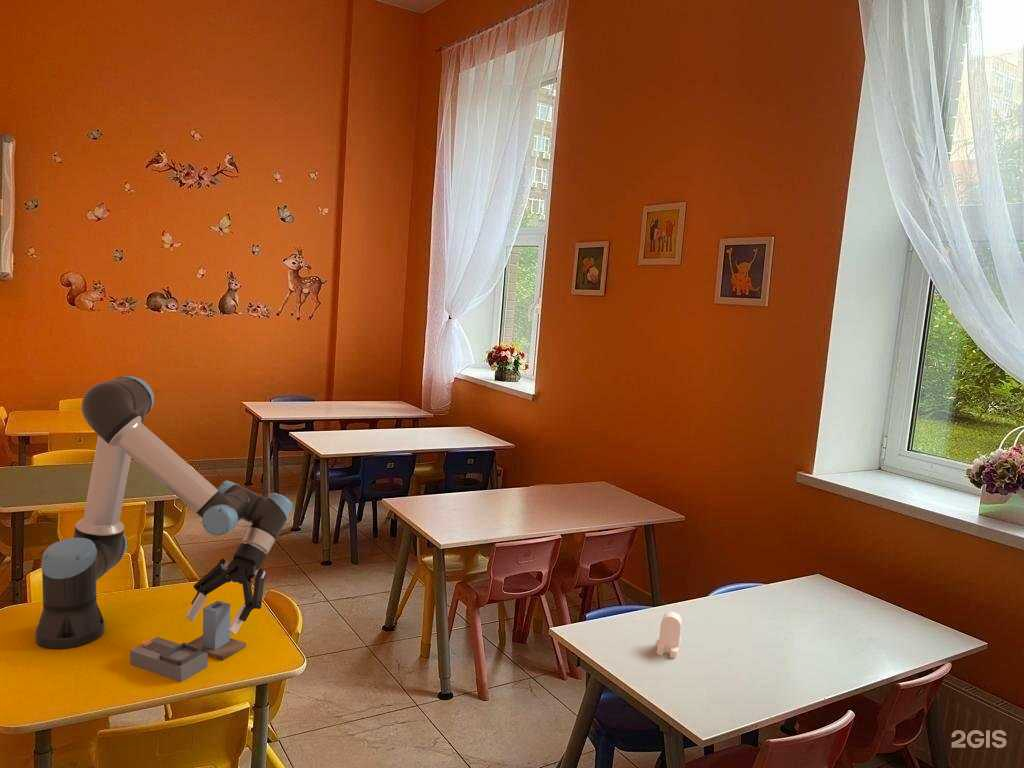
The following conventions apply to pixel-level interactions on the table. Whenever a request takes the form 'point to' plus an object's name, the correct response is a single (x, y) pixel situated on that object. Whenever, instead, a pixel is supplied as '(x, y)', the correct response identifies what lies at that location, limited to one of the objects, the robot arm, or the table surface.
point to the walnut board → (220, 648)
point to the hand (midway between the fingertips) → (210, 625)
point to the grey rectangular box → (169, 658)
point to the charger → (216, 625)
